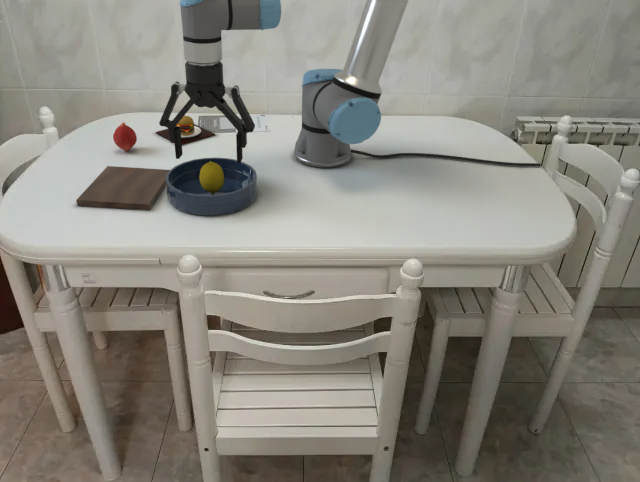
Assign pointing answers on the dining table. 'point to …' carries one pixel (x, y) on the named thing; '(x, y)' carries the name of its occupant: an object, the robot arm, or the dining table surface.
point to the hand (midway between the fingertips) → (209, 158)
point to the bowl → (198, 201)
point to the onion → (124, 137)
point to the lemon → (211, 177)
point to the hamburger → (188, 131)
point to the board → (125, 188)
